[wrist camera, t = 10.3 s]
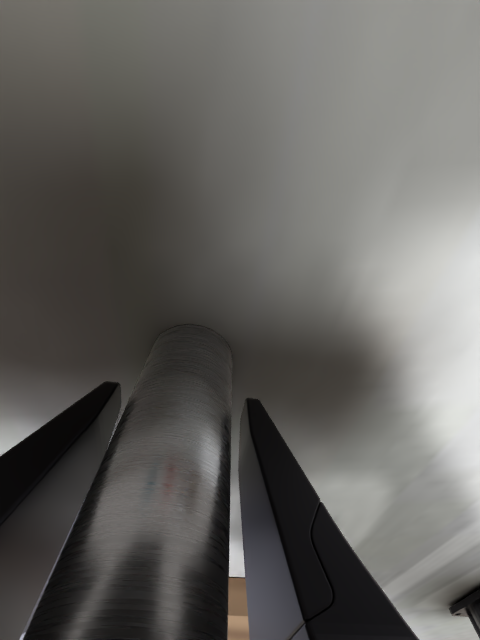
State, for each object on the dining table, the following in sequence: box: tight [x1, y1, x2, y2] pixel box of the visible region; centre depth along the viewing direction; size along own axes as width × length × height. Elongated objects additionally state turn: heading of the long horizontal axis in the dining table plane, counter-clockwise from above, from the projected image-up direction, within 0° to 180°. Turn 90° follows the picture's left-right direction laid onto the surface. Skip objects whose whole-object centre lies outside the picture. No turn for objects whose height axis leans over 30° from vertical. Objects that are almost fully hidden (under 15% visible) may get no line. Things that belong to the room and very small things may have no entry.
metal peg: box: [23, 325, 232, 640], centre depth 7 cm, size 3×3×8 cm
